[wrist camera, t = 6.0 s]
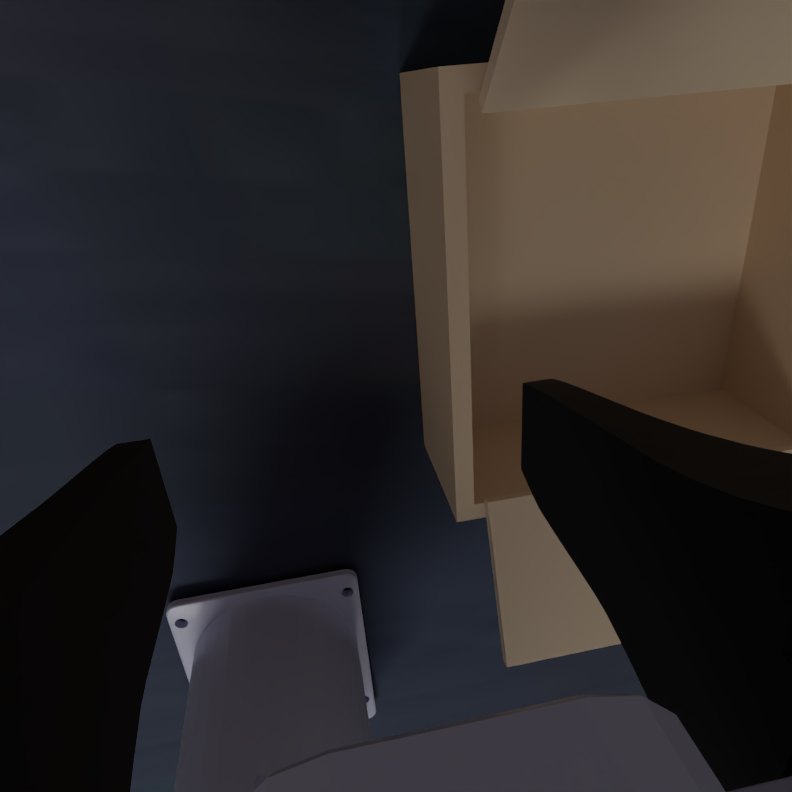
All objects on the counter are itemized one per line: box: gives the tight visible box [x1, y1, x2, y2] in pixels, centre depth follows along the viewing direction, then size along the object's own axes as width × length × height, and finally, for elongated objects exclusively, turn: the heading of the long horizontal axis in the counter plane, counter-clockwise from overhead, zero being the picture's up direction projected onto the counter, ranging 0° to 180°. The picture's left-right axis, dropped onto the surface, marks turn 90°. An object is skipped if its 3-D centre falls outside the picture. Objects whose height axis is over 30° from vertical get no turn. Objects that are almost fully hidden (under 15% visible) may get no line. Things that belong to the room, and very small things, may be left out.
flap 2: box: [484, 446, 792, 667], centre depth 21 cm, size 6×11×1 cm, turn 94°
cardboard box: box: [399, 62, 792, 522], centre depth 20 cm, size 13×13×5 cm
